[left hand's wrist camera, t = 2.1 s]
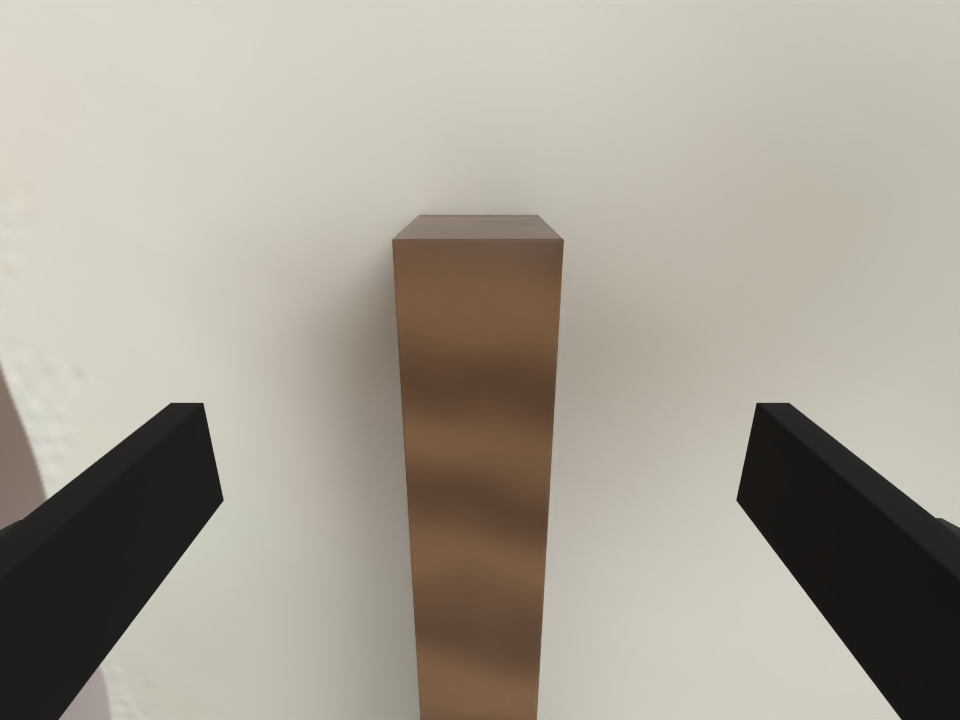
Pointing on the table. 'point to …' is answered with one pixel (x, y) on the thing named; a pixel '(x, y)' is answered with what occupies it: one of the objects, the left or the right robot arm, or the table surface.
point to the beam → (478, 452)
